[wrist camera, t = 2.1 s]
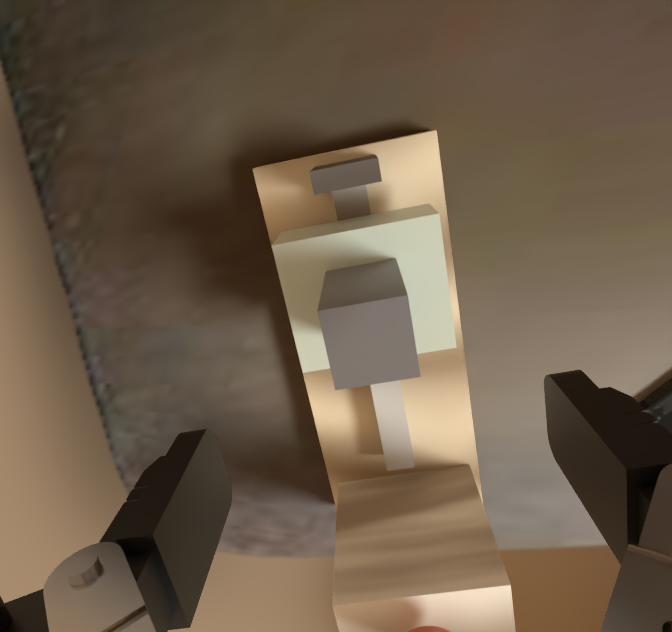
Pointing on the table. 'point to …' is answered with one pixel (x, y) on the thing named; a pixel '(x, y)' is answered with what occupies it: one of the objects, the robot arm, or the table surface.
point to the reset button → (429, 629)
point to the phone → (660, 405)
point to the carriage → (367, 294)
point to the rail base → (435, 367)
